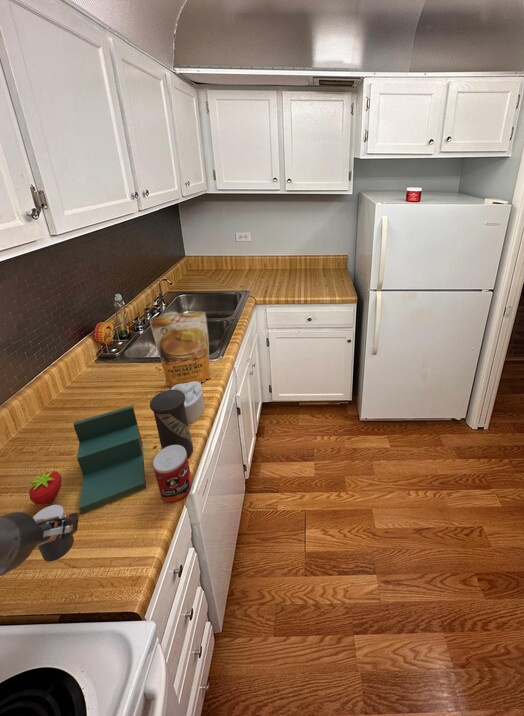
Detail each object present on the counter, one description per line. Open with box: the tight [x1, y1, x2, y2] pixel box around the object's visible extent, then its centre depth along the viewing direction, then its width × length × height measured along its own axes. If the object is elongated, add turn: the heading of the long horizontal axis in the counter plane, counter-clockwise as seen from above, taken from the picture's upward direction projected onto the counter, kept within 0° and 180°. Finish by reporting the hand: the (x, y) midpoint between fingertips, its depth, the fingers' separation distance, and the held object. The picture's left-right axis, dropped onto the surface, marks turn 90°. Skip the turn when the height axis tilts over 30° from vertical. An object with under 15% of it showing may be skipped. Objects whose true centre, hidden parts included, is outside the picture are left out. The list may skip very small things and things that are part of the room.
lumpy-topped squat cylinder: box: [170, 381, 206, 426], centre depth 110 cm, size 10×13×9 cm
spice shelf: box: [73, 404, 147, 514], centre depth 87 cm, size 14×17×14 cm
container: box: [149, 389, 194, 459], centre depth 92 cm, size 9×9×20 cm
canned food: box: [152, 445, 193, 503], centre depth 83 cm, size 8×8×11 cm
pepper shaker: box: [32, 504, 75, 562], centre depth 59 cm, size 5×5×8 cm
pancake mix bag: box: [148, 310, 212, 388], centre depth 122 cm, size 7×19×28 cm, turn 107°
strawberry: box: [28, 470, 63, 506], centre depth 80 cm, size 6×8×10 cm
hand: (58, 522), depth 61 cm, fingers closed on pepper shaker, 4 cm apart
